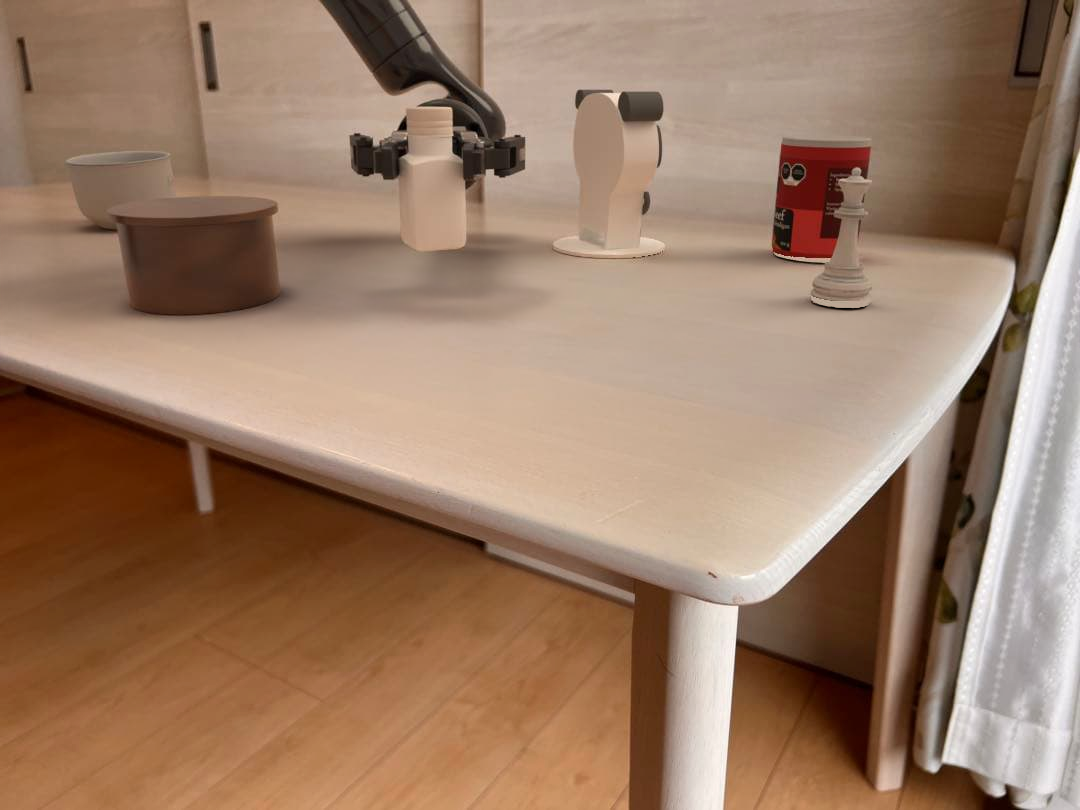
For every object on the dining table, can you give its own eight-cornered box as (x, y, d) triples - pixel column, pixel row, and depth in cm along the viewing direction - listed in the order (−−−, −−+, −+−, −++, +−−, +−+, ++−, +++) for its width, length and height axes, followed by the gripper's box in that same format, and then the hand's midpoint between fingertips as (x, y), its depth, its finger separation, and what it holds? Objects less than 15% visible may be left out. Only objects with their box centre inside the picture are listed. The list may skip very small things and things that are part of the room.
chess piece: (799, 303, 65) (815, 167, 62) (824, 293, 68) (840, 163, 65) (856, 312, 63) (875, 171, 59) (878, 302, 66) (898, 167, 62)
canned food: (776, 246, 88) (787, 134, 84) (858, 252, 85) (874, 136, 81) (764, 260, 81) (776, 138, 77) (853, 266, 78) (870, 141, 74)
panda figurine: (690, 254, 84) (700, 90, 78) (585, 263, 80) (588, 91, 74) (631, 235, 94) (637, 89, 89) (535, 241, 90) (535, 89, 85)
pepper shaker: (399, 243, 63) (392, 106, 59) (451, 240, 64) (447, 106, 61) (414, 253, 59) (408, 108, 56) (469, 249, 61) (466, 108, 58)
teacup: (196, 225, 100) (186, 154, 97) (99, 237, 92) (86, 159, 89) (145, 213, 109) (135, 147, 106) (53, 223, 101) (39, 152, 98)
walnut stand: (167, 326, 59) (151, 223, 56) (96, 297, 67) (79, 206, 64) (316, 296, 67) (308, 205, 65) (238, 274, 75) (228, 192, 72)
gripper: (356, 97, 71) (315, 103, 56) (528, 99, 72) (535, 105, 56) (362, 189, 74) (324, 220, 58) (527, 191, 75) (534, 221, 59)
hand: (428, 163), depth 57 cm, fingers closed on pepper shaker, 4 cm apart
